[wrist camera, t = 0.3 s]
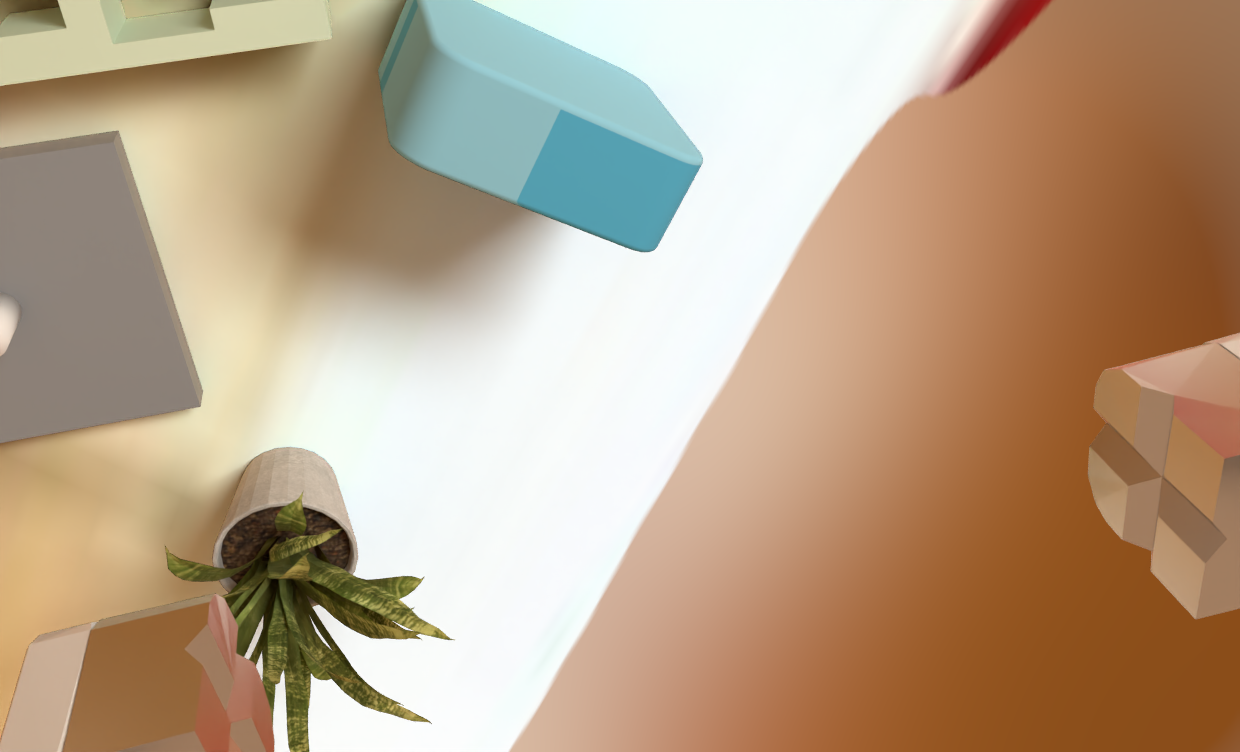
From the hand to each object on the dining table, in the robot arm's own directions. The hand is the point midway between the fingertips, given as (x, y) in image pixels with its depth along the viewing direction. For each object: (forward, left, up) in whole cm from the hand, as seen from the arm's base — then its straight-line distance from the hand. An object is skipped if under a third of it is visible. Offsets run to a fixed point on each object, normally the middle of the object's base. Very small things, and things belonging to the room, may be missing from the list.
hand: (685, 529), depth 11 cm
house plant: (+32, -12, -46) cm, 58 cm away
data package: (+10, +4, -46) cm, 48 cm away
